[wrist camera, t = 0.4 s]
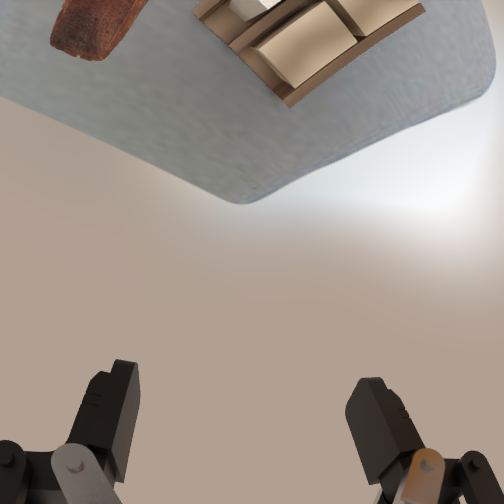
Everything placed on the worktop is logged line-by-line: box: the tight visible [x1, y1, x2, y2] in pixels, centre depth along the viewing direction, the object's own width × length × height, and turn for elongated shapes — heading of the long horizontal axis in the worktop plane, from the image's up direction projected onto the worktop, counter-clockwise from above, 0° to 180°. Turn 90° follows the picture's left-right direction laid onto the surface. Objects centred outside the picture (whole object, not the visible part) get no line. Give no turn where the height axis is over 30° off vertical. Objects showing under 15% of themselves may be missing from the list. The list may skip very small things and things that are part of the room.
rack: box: [191, 0, 426, 108], centre depth 23 cm, size 13×18×7 cm
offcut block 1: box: [250, 1, 357, 88], centre depth 24 cm, size 4×7×8 cm, turn 132°
